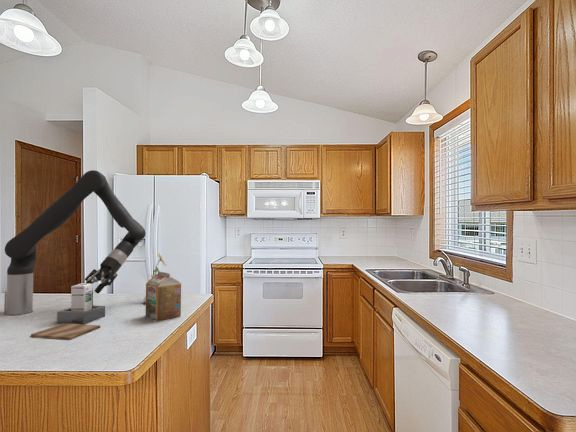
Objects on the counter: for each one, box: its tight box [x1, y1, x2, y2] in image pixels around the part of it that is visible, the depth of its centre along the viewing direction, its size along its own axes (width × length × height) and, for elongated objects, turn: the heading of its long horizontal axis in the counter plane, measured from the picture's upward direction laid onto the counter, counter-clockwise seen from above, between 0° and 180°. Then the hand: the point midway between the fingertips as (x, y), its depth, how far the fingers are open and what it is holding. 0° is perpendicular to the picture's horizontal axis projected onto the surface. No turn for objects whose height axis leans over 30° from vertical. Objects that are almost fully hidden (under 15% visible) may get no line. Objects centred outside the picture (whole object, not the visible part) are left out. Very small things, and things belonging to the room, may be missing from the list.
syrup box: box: [70, 282, 94, 312], centre depth 140 cm, size 6×6×14 cm
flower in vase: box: [142, 252, 167, 303], centre depth 173 cm, size 13×11×25 cm
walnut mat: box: [30, 323, 101, 341], centre depth 124 cm, size 16×14×1 cm
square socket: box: [56, 304, 106, 325], centre depth 140 cm, size 12×12×4 cm
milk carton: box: [145, 270, 182, 323], centre depth 146 cm, size 11×11×19 cm
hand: (89, 291), depth 143 cm, fingers open, 8 cm apart
